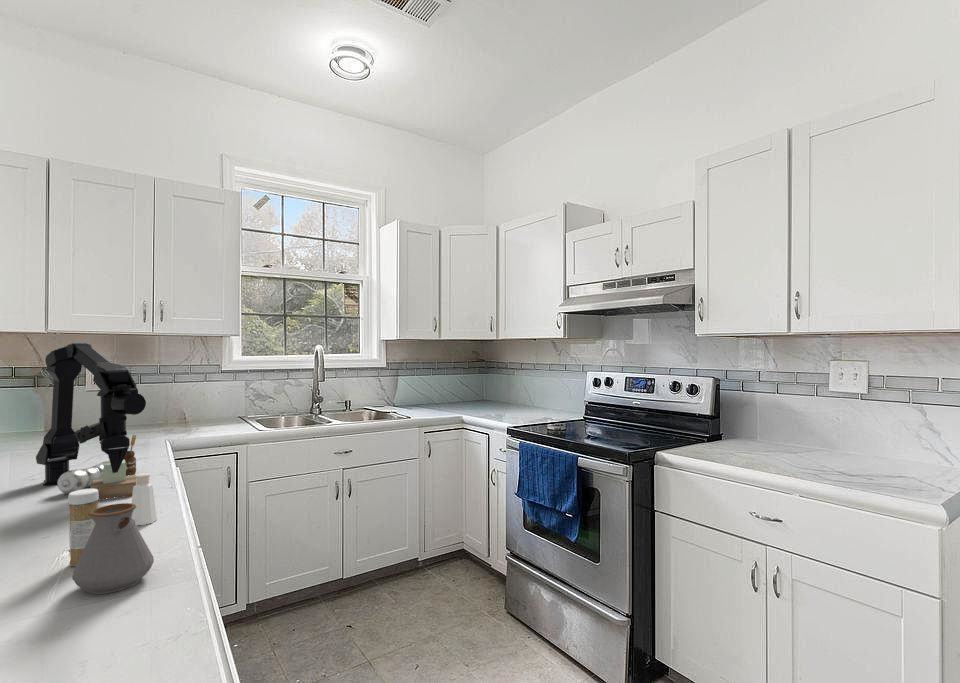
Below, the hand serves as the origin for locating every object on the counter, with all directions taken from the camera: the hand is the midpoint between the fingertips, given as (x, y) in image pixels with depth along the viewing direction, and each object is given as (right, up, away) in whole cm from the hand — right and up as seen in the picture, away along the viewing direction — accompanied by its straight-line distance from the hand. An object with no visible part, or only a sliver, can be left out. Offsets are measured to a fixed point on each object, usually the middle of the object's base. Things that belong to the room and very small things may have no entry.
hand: (114, 469), depth 147 cm
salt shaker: (+23, -7, -24) cm, 34 cm away
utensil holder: (-12, -7, +22) cm, 26 cm away
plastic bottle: (-12, -4, -2) cm, 13 cm away
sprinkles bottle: (+26, -7, -47) cm, 54 cm away
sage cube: (0, -3, 0) cm, 3 cm away
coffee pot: (+41, -6, -59) cm, 73 cm away
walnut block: (0, -7, 0) cm, 7 cm away
